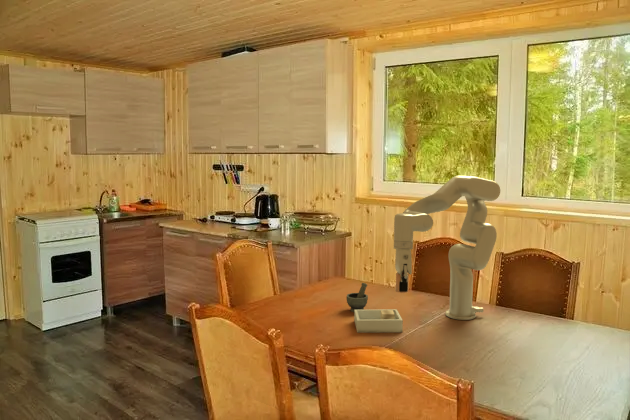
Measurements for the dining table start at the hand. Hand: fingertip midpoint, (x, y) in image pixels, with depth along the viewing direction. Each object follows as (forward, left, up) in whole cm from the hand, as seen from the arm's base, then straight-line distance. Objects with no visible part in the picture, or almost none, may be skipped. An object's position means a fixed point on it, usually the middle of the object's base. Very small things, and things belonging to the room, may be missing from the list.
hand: (401, 289), depth 207 cm
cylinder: (0, 0, -1) cm, 1 cm away
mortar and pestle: (+15, -26, -17) cm, 35 cm away
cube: (+5, -4, -16) cm, 17 cm away
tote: (+9, -4, -17) cm, 20 cm away
